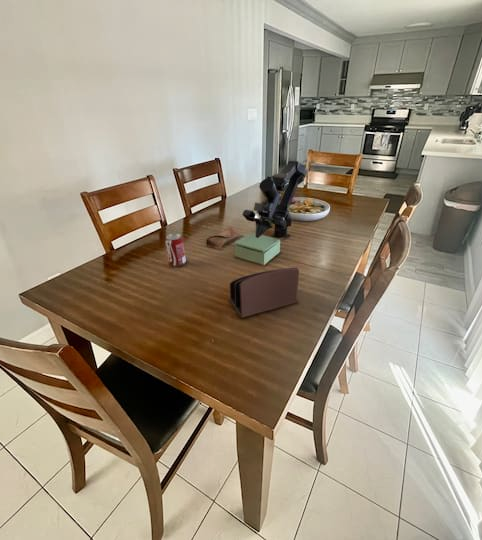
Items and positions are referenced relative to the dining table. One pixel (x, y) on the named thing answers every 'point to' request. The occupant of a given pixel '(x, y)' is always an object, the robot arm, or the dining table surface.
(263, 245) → the lid
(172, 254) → the soda can
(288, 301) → the letter holder
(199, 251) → the dining table surface
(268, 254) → the keepsake box
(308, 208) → the bowl
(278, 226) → the robot arm
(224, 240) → the sunglasses case
